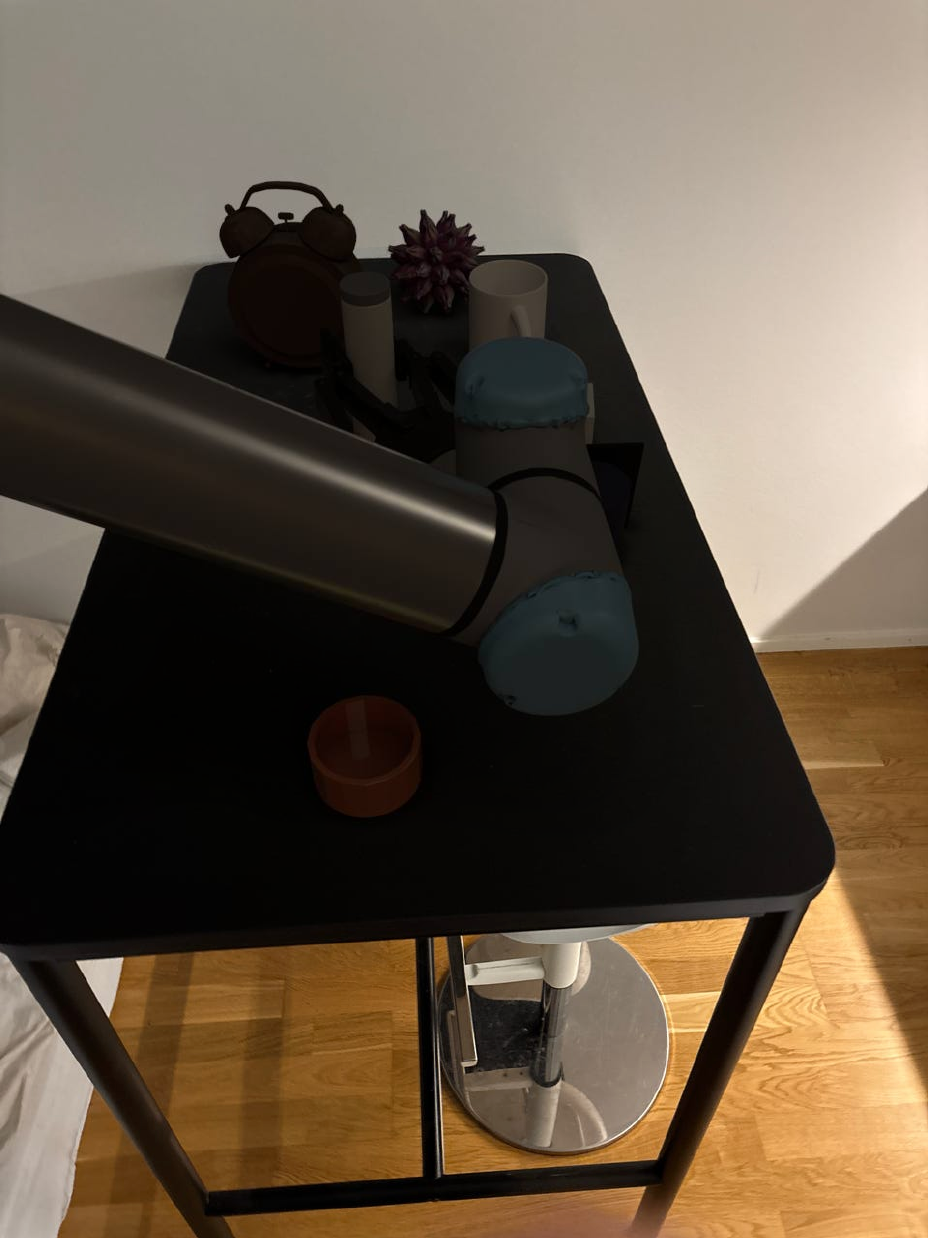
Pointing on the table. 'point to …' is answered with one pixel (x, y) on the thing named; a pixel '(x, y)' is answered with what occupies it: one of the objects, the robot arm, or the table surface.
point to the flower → (435, 261)
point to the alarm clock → (288, 275)
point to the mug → (506, 301)
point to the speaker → (616, 481)
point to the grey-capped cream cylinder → (369, 336)
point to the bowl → (366, 755)
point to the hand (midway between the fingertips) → (350, 337)
